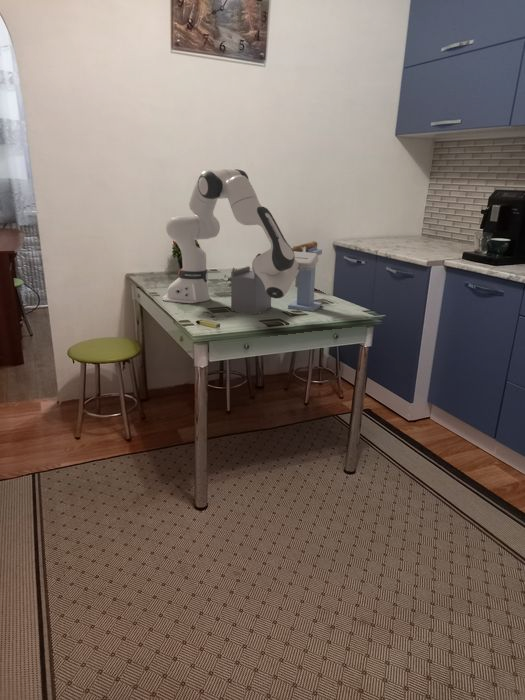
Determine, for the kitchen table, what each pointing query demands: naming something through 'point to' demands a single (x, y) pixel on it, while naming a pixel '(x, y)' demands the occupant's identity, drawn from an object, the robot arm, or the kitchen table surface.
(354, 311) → the kitchen table surface
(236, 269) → the passion flower
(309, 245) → the dowel
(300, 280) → the shelf post
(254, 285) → the tray stand
